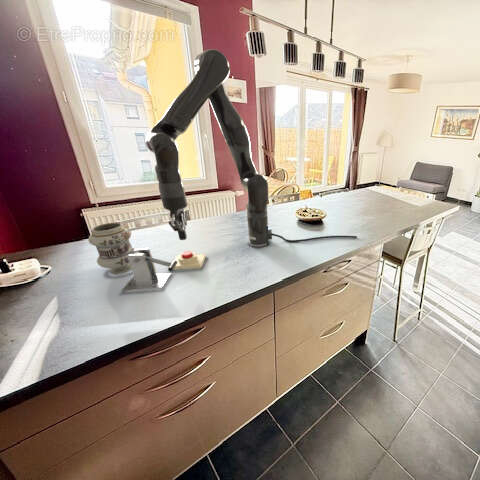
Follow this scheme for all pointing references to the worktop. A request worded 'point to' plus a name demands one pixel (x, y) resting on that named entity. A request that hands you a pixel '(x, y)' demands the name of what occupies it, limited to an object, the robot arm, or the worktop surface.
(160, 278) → the bracket
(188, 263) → the button block
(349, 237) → the robot arm
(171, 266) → the lever
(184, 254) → the button
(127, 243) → the apothecary jar
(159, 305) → the worktop surface
